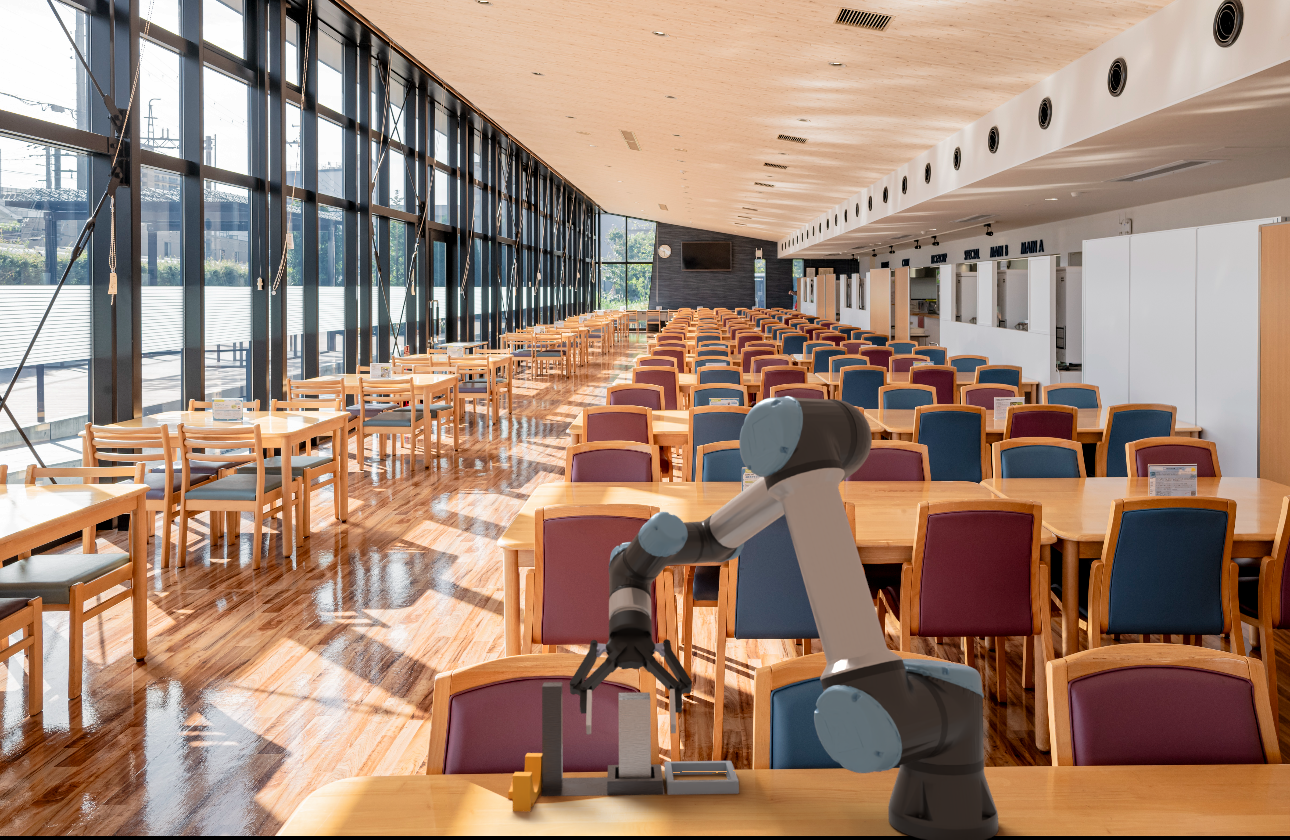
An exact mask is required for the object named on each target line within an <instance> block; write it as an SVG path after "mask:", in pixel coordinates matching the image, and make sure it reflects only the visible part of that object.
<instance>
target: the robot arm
mask: <svg viewBox="0 0 1290 840" xmlns="http://www.w3.org/2000/svg"><path fill="white" fill-rule="evenodd" d="M743 421H744V423H743V425H742V426H741V429H740V433H739V440H738V441H739V442H738V443H739V454H740V458H741V460H742V462H743V465H744V466H745V468H746V469H747V470H748V471H751V473H752V474H754V475H756V476H758V477H759V478H757V479H756V480H755V481H754V482H753V483H751V484H750V485H749V486H747V487H746V488H745V489H743V490H742V491H741V492H740V493H738V494H737V495H735V496H734V497H733V498H732V499H731V500H729V501H728V502H727V503H725V504H724V505H722V506H721V507H720V508H719V509H718V510H716V511H715V512H714V513H712V514H711V515H709V516H708V517H706V518H705V519H703V520H701V521H688V522H684V521H683V520H682V519H681V518H679V516H677V515H675V514H671V513H670V512H668V511H658V512H656V513H655V514H653V515H651V517H650V518H649V519H648V520H647V522H645V523H644V524H643V525H642V526H641V527H640V529H639V531H638V532H637V534H636V535H635V537H634V538H633V539H632V540H631V541H627V542H622V543H621V544H620V545H616V546H615V547H614V548H613V549H612V550H611V553H610V558H609V562H608V575H609V577H608V586H609V588H608V589H609V591H608V594H609V595H608V641H607V642H606V644H605V643H599V642H598V640H596V639H592V640H591V641H590V644H589V650H588V652H587V653H586V655H585V656H584V658H583V660H582V661H581V664H580V665H579V667H577V670H576V671H575V673H574V675H573V676H572V678H571V679H570V681H569V684H568V685H569V693H570V694H571V695H573V696H575V695H578V696H579V712H580V714H584V715H585V714H586V716H585V719H586V720H585V726H586V727H585V731H586V735H592V719H593V718H592V715H593V713H592V712H593V691H594V690H596V689H597V688H598V687H599V685H601V683H602V682H604V680H605V679H607V677H608V676H609V675H610V674H611V673H614V672H615V671H616V670H617V669H618V668H620V669H621V670H627V669H633V670H640V669H641V668H643V669H645V670H646V671H647V672H648V673H650V674H652V676H654V678H656V679H657V680H658V681H659V682H660V683H661V685H663V687H665V688H666V689H667V690H668V691H669V715H670V716H669V717H670V718H669V719H670V734H677V733H676V731H677V715H676V714H678V713H679V714H681V713H682V711H683V699H682V698H683V695H684V694H691V693H692V689H693V688H692V687H693V680H692V679H691V678H690V676H689V675H688V673H687V672H686V670H685V668H684V667H683V666H682V664H681V662H680V660H679V659H678V656H676V655H675V653H674V651H673V649H672V645H671V644H672V643H671V641H670V639H668V638H667V639H664V640H663V642H659V643H655V642H654V640H653V627H652V626H653V623H652V587H651V586H652V584H653V582H654V581H655V579H656V578H657V577H658V576H659V575H660V574H661V573H662V571H663V570H664V569H666V567H669V566H678V565H689V564H691V565H692V564H705V563H724V562H727V561H731V560H735V559H737V558H738V557H740V555H741V554H742V553H741V552H742V550H743V549H744V547H745V543H746V542H747V541H748V540H749V539H751V538H753V537H754V536H755V535H757V534H758V533H760V532H762V530H764V529H765V528H766V527H768V526H770V525H771V524H773V523H774V522H775V521H777V520H778V519H780V518H781V517H783V516H785V519H786V524H787V528H788V530H789V534H790V538H791V540H792V541H791V542H792V545H793V548H794V551H795V555H796V559H797V562H798V565H799V569H800V573H801V576H802V579H803V584H804V586H805V590H806V594H807V597H808V598H807V599H808V600H809V604H810V609H811V611H812V614H813V618H814V622H815V625H816V630H817V632H818V636H819V639H820V643H821V647H822V650H823V654H824V658H825V660H826V665H825V668H824V669H823V671H822V674H821V676H820V678H819V680H820V682H821V686H822V691H823V692H822V693H821V694H820V695H819V697H818V698H817V700H816V703H815V706H816V709H815V710H814V714H813V720H814V728H815V730H816V731H815V732H816V735H817V737H818V740H819V741H820V743H821V745H822V747H823V749H824V750H825V752H826V753H827V754H828V756H830V758H831V759H832V760H833V761H834V762H836V763H838V764H839V765H841V767H842V768H843V769H846V770H847V771H850V772H853V773H858V774H870V773H874V772H875V773H876V772H878V773H879V772H886V771H890V770H892V769H893V768H895V767H899V770H898V773H897V776H896V779H895V781H894V785H893V789H892V792H891V795H890V798H889V802H888V806H887V807H888V809H887V810H888V822H889V825H891V827H893V828H894V829H895V830H896V831H899V832H901V833H902V834H906V835H908V836H911V837H914V838H917V839H921V840H988V839H991V838H992V837H994V836H996V835H997V834H998V833H999V814H998V810H997V806H996V804H995V801H994V798H993V795H992V793H991V789H990V786H989V784H988V781H987V777H986V775H985V764H984V763H985V759H984V757H985V755H984V753H985V752H984V749H985V748H984V707H983V705H984V700H983V699H984V697H985V695H984V693H983V682H982V677H981V674H980V673H979V670H977V669H975V668H973V667H971V666H968V665H964V664H960V663H956V662H955V663H954V662H947V661H940V660H934V659H933V660H932V659H924V658H923V659H921V658H903V657H901V656H900V655H898V654H897V653H895V652H893V651H892V650H890V648H888V647H887V643H886V640H885V636H884V633H883V630H882V626H881V623H880V620H879V616H878V614H877V610H876V607H875V604H874V601H873V600H874V599H873V597H872V594H871V591H870V590H871V589H870V588H869V585H868V584H869V583H868V581H867V578H866V574H865V571H864V567H863V565H862V560H861V557H860V553H859V551H858V547H857V544H856V541H855V539H854V535H853V531H852V528H851V525H850V520H849V518H848V516H847V512H846V508H845V505H844V503H843V499H842V496H841V492H840V489H839V486H840V484H841V483H842V482H843V481H845V480H847V479H848V478H849V477H850V476H852V475H853V474H854V473H856V472H857V471H858V470H859V469H860V468H861V467H862V466H863V464H864V463H865V461H866V460H867V459H868V457H869V454H870V452H871V448H872V439H873V438H872V437H873V436H872V430H871V426H870V424H869V420H867V418H866V417H865V415H864V413H862V412H861V410H860V409H859V408H857V407H855V406H854V405H853V404H850V403H849V402H847V401H844V400H841V399H836V398H835V399H834V398H831V399H830V398H829V399H828V398H827V399H826V398H824V399H823V398H809V397H807V398H805V397H804V398H803V397H795V396H794V397H793V396H789V395H785V396H781V397H767V398H765V399H762V400H760V401H758V402H757V403H756V404H754V406H753V407H751V409H750V410H749V412H747V414H746V416H745V418H744V420H743ZM655 652H657V653H658V654H659V656H660V657H661V658H664V661H665V663H666V664H667V666H668V667H669V669H670V670H671V673H672V674H673V675H674V676H673V675H672V674H671V673H670V672H669V671H668V670H667V669H666V668H665V667H664V666H663V665H662V664H660V662H658V660H657V659H656V657H655V656H654V654H655ZM604 653H606V655H607V657H606V659H605V660H604V661H603V662H602V664H601V665H599V667H597V669H595V671H593V672H592V673H591V674H590V672H591V670H592V668H593V667H594V666H595V664H596V661H597V659H598V658H600V657H601V656H602V654H604ZM589 674H590V675H589Z"/></svg>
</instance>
